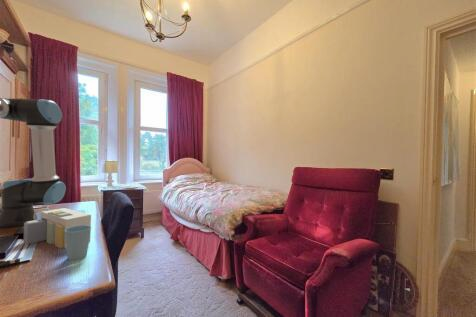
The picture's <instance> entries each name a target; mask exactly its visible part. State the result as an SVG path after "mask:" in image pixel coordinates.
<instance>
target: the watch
mask: <svg viewBox="0 0 476 317" xmlns="http://www.w3.org/2000/svg"><path fill="white" fill-rule="evenodd" d="M48 210H52V209H51V208H50V207H49V208H47V207H42V208H39V209H37V210H35V213H34V215H33V219H34V220H36V216H37V214H38V213H39V212H42V211H48ZM35 215H36V216H35Z"/></svg>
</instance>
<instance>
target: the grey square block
mask: <svg viewBox="0 0 476 317" xmlns="http://www.w3.org/2000/svg"><path fill="white" fill-rule="evenodd" d="M45 240H46V241H47V219H42V220H41V219H37V220H33V221H28V222H26V223H24V225H23V243H24V244H26V245H30V244H34V243H38V242H43V241H45Z"/></svg>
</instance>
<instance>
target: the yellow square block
mask: <svg viewBox="0 0 476 317" xmlns="http://www.w3.org/2000/svg"><path fill="white" fill-rule="evenodd" d="M64 230H65V225H62V224H60V225H58V226H56V242H55V243H54V245H55V247H56V248H59V249H62V248H64Z"/></svg>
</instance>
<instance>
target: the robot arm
mask: <svg viewBox="0 0 476 317" xmlns="http://www.w3.org/2000/svg"><path fill="white" fill-rule="evenodd" d="M0 119H3V120H9V121H15V122H21V123H26V124H25V125H26V127H28V128H29V129H30V134H31V135H30V136H31V147H32V148H31V149H32V164H33V165H32V166H33V177H32V178H24V179H23V178H22V179H15V180H6V181H4V182H3V183H2V184H1V183H0V191H1V211H0V228H3V229H5V228H16V227H22V226H23V227H24V223H26V222H28V221H33V220H34V219H33V215H34V213H35V212H36V210H35V209H34V204H35V205H38V204H39V205H51V204H52V205H53V204H57V203H59V202H60V201H61V200H62V199H63V198H64V196H65V195H66V190H67V187H66V184H65V183H64V182H63V181H60V180H61V179H60V176H58V174H57V171H56V154H55V137H54V130H55V129H56V128H57V127H58V124H59V123H60V122H62V120H63V113H62V110H61V108H60V106H59V105H58V104H57V103H56V102H55V101H53V100H50V99H42V98H5V97H4V98H3V97H0ZM35 216H36V220H38V216H37V214H36V215H35Z"/></svg>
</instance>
